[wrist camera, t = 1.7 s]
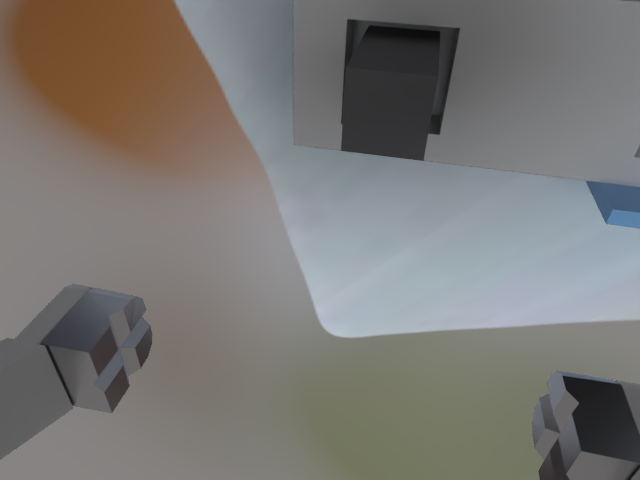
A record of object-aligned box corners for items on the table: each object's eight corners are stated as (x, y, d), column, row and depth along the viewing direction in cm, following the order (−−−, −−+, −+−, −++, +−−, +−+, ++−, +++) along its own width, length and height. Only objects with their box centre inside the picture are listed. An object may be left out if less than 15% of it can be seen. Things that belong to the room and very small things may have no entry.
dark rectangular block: (369, 25, 24) (346, 67, 18) (440, 30, 23) (438, 76, 18) (363, 94, 26) (341, 150, 20) (428, 100, 25) (423, 160, 20)
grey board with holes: (310, -34, 24) (277, -13, 19) (919, 6, 20) (1066, 44, 15) (308, 132, 29) (281, 180, 24) (788, 188, 25) (866, 258, 20)
